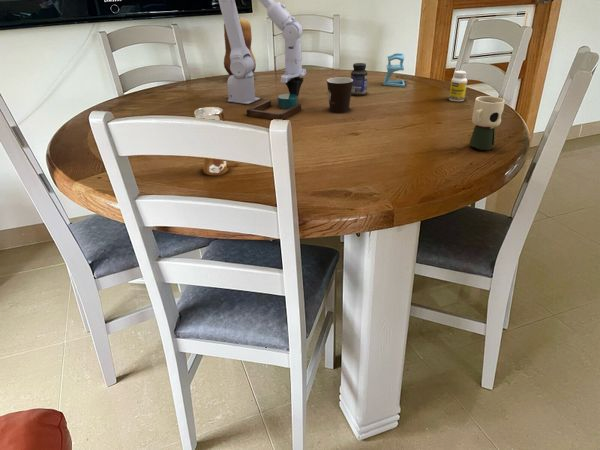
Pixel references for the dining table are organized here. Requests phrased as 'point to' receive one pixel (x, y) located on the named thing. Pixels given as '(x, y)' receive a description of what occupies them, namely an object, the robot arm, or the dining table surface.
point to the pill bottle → (359, 79)
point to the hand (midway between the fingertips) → (294, 99)
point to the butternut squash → (247, 38)
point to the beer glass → (212, 165)
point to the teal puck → (287, 101)
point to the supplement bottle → (458, 86)
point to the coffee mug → (339, 94)
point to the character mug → (486, 121)
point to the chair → (394, 68)
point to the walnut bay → (258, 112)
